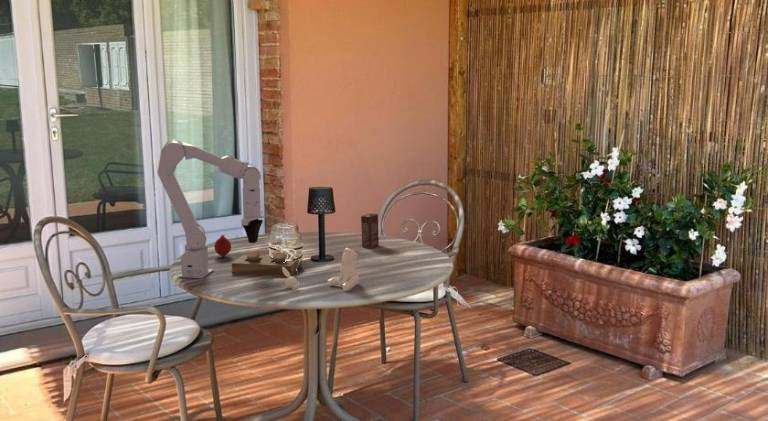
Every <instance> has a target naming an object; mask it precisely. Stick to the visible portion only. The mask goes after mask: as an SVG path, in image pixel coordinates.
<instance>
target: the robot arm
mask: <svg viewBox="0 0 768 421" xmlns="http://www.w3.org/2000/svg"><path fill="white" fill-rule="evenodd" d="M184 158H185V161H186V160H192V159H197V160H199V161H202V162H203V163H207V164H210V165H214V166H215V167H218V169H219V172H220V173H222V174H225V175H227V176H230V177H233V178H235V179H238V180H241V179H242V188H241V189H242V192H241V193H242V219H241V220H240V221H241V223H240V224H241V227H243V228H244V231H245V234H246V237H247V241H248V243H249V244H256V243H257V242H258V238H259V233H260V230H261V226H262V224H263V222H264V220H263V218H265V215H264V214H263V210H262V208H261V205H262V204H261V188H260V186H261V185H260V183H261V182H260V180H261V178H262V175H261V172H260V170H259V169H258V167H256V166H255V165H253V164H252V163H249V162H248V161H245V162H244V161H242V160H239V159H237V158H236V157H235V155H224V156H222V157H221V156H219V155H217V154H214V153H212V152H211V151H208V150H205V149H203V148H201V147H198V146H196V145H194V144H191V143H187V142H184V141H183V142H181V141H180V140H178V139H170V140H168V141H167V142H165V144H164V145H163V148H162V149H161V152H160V156H159V160H158V161H159V162H158V168H157V175H158V178H159V181H160V182H161V184H162V187H163V189H164V190H165V192H166V195H167V197H168V198H169V199H168V200H170V202H171V205H172V207H173V209H174V210H175V213H176V215H177V217H178V219H179V221H180V223H181V225H182V228H183V231H184V234H185V242H186V244H184V252H183V254H182V255H181V258H180V266H181V267H180V268H181V274H179V275H178V277H179V278H191V279H203V278H204V277H206V276H208V275H209V274H211V273H212V272H213V271H214V269H213V268H209V252H208V248H209V247H208V243H206V242H207V236H206V231H205V229H204V227H203V226H202V225H200V224H199V222H198V221H197V219H196V217H195V216H194V213H193V211H192V209H191V207H190V205H189V203H188V200H187V199H186V197H185V196H186V195H185V194H184V192H183V189H182V188H181V186H180V184H179V181H178V179H177V177H176V176H175V170H176V169H177V166H178V165H179V164H180V162H181V161H182V160H183V159H184Z"/></svg>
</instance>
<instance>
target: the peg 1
mask: <svg viewBox="0 0 768 421" xmlns="http://www.w3.org/2000/svg"><path fill="white" fill-rule="evenodd" d="M246 253H247V254H246V255H247V260H248V261H252V262H255V261H259V260H260V250H259V249H255V248H254V249H253V248H251V249H247V251H246Z"/></svg>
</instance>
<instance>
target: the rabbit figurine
mask: <svg viewBox="0 0 768 421" xmlns="http://www.w3.org/2000/svg"><path fill="white" fill-rule="evenodd" d="M282 271H283V273H284V275H285V276H284V277H285V278H273V279H271V282H272V283H274V284H281V283H282V284H283V283H284V286H282V288H283V289H284V288H286V289H289V288H292V290H296V289H297V288H298V286H299V284H300V281H299V280H298V279H297V278H296V277H294V276H290V273H289V272H288V271H287V270H286V269H285V268H284V267H282Z"/></svg>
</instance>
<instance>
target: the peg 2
mask: <svg viewBox="0 0 768 421" xmlns="http://www.w3.org/2000/svg"><path fill="white" fill-rule="evenodd" d="M276 251H277V250H274V251H272V253H273V255H272V256H273V262H275V263H283V262H285V257H286V253H285V254H284V253H281V252H276Z"/></svg>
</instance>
